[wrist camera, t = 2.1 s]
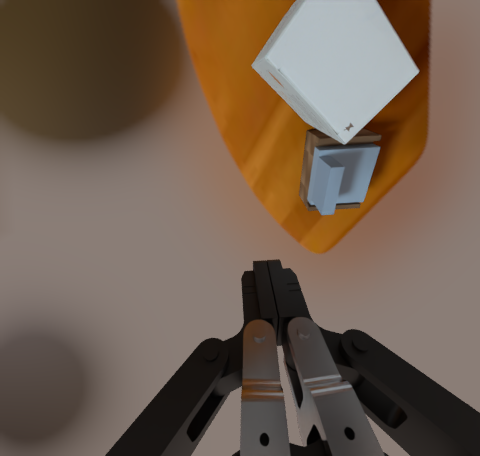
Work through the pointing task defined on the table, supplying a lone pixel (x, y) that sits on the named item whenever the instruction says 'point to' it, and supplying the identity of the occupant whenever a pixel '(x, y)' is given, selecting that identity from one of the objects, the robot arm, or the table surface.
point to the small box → (336, 63)
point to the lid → (340, 175)
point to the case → (321, 139)
